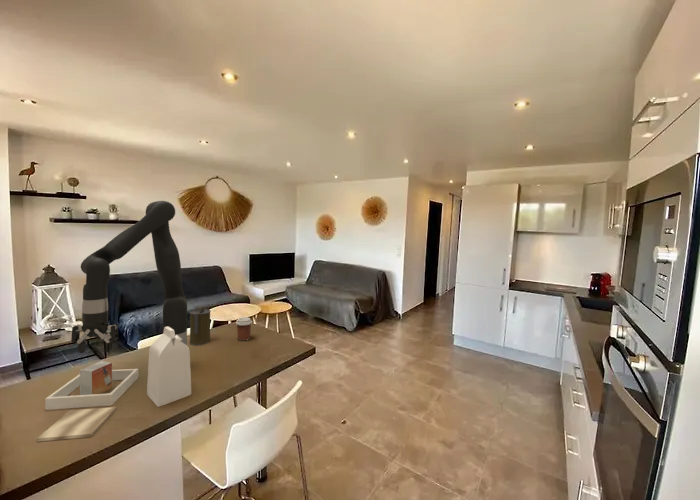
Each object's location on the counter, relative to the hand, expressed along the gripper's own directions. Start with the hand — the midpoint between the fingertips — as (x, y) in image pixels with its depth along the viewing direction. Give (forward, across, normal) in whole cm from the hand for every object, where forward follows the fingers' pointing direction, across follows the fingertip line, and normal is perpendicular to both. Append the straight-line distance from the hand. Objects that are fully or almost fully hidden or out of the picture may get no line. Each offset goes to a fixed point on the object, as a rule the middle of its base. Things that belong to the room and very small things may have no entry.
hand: (95, 352), depth 115 cm
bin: (+16, 0, 0) cm, 16 cm away
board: (+16, -7, +20) cm, 26 cm away
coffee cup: (+15, -47, -51) cm, 71 cm away
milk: (+16, -28, +5) cm, 32 cm away
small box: (+16, 0, 0) cm, 16 cm away
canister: (+16, -24, -49) cm, 57 cm away
